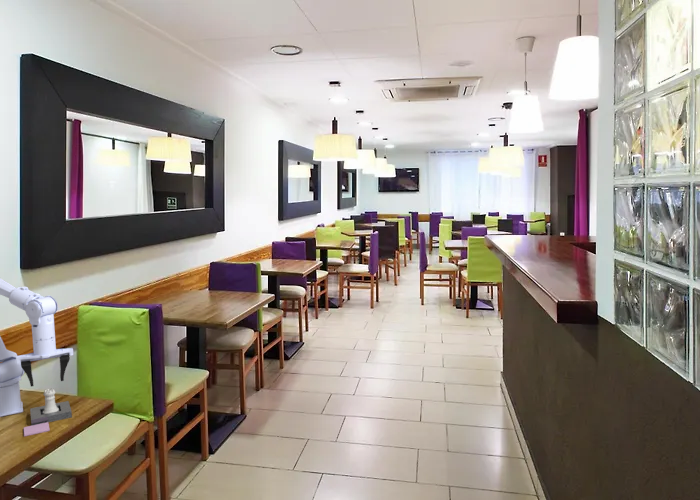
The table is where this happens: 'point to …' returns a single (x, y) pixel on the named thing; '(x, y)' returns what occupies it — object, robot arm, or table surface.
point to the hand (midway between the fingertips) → (47, 382)
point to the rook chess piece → (50, 402)
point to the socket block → (40, 418)
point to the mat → (36, 429)
